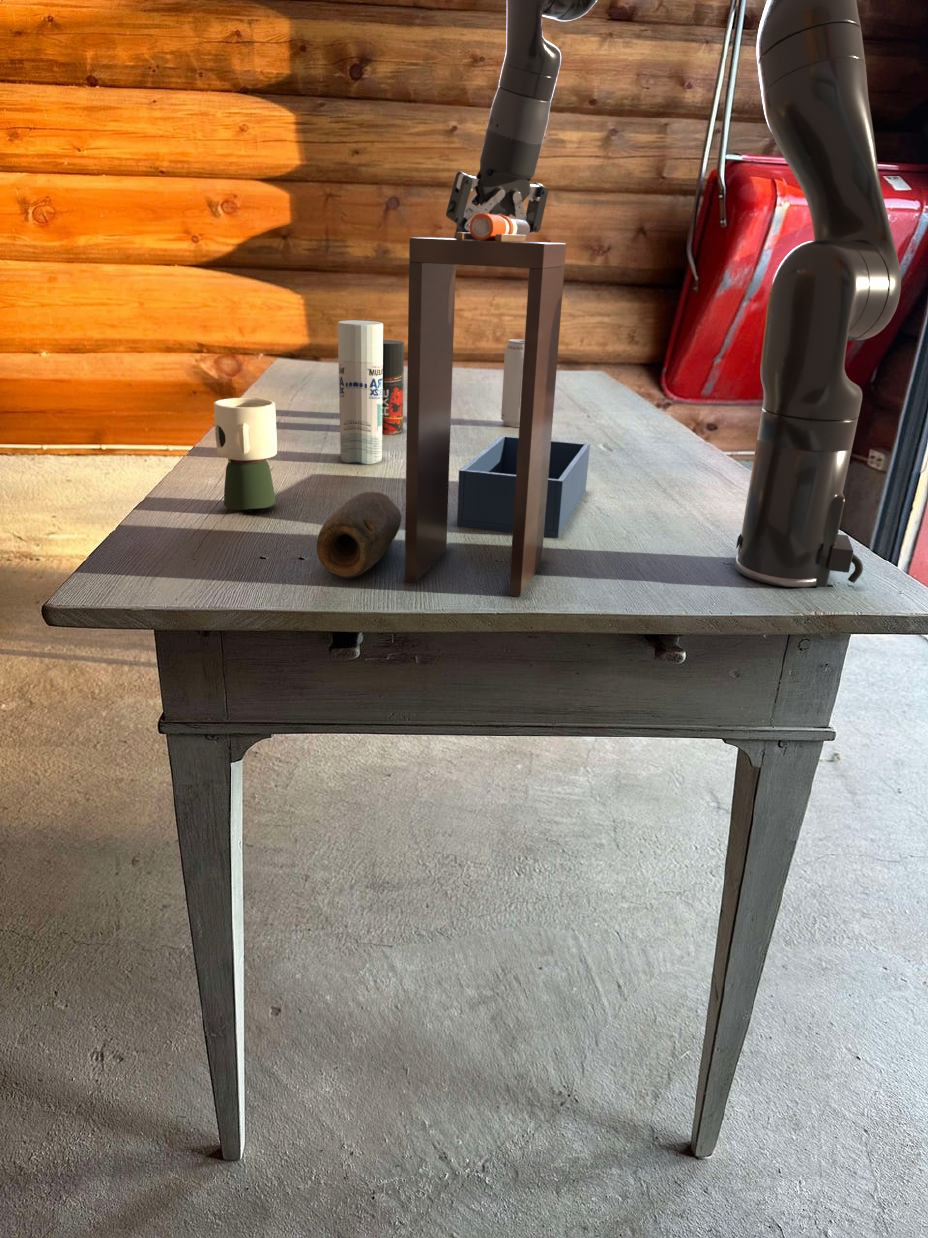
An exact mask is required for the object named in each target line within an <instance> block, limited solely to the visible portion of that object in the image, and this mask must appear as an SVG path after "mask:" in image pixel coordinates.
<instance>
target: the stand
mask: <svg viewBox="0 0 928 1238" xmlns="http://www.w3.org/2000/svg"><path fill="white" fill-rule="evenodd" d="M526 240H527V237H526V235H515V234H496V235H495V241H480V240H477V239H475V238H474V237H473V236H472V235H471V233H467V232H457V233H456V239H454V238H451V237H409V247H408V248H409V250H408V251H409V252H408V253H409V254H408V303H407V304H408V306H407V307H408V313H407V314H408V315H407V371H406V372H407V375H406V376H407V377H406V378H407V379H406V380H407V382H406V443H405V444H406V445H405V446H406V448H405V451H406V452H405V510H404V511H405V513H404V514H405V515H404V517H405V518H404V522H405V523H404V577H403V578H404V582H409V583H417V582H418V580H420V579H421V577H422V576H423V575H424V574H425V573H426V572H427V571H428V570H429V569H430V568H431V566H433V565H434V564H435V562H437V560H439V558H440V557H441V556H442V555H443V554H444V553H445V552H446V551H447V544H448V542H447V541H448V516H449V515H448V513H449V511H448V510H449V486H450V485H449V483H450V454H451V451H450V450H451V427H452V425H451V424H452V423H451V422H452V397H453V395H452V394H453V368H454V367H453V365H454V364H453V363H454V337H455V335H454V334H455V307H456V305H455V303H456V277H457V275H456V273H457V272H456V271H457V266H474V267H475V266H476V267H477V266H478V267H491V268H493V267H495V268H512V269H528V282H527V300H526V313H525V314H526V315H525V329H524V340H525V344H524V360H523V376H522V392H521V408H520V424H519V427H518V437H519V440H518V455H517V471H516V487H515V503H514V519H513V532H512V537H511V552H510V567H509V569H510V570H509V585H508V596H511V597H518V598H520V597H522V595H523V593H524V591H526V588H527V587H528V585H529V583H530V582H531V581H532V579H533V578H534V575H535V574H536V572H537V571H538V569H539V567H540V565H541V564H542V561H543V552H544V540H545V539H544V537H545V536H544V526H545V513H546V500H547V487H548V474H549V462H550V449H551V440H552V435H553V423H554V408H555V395H556V383H557V369H558V368H557V367H558V358H559V357H558V355H559V346H560V345H559V344H560V330H561V317H562V307H563V306H562V303H563V293H564V291H563V290H564V280H565V279H564V278H565V264H566V252H567V244H566V243H565V242H564V243H563V242H539V241H526Z"/></svg>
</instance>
